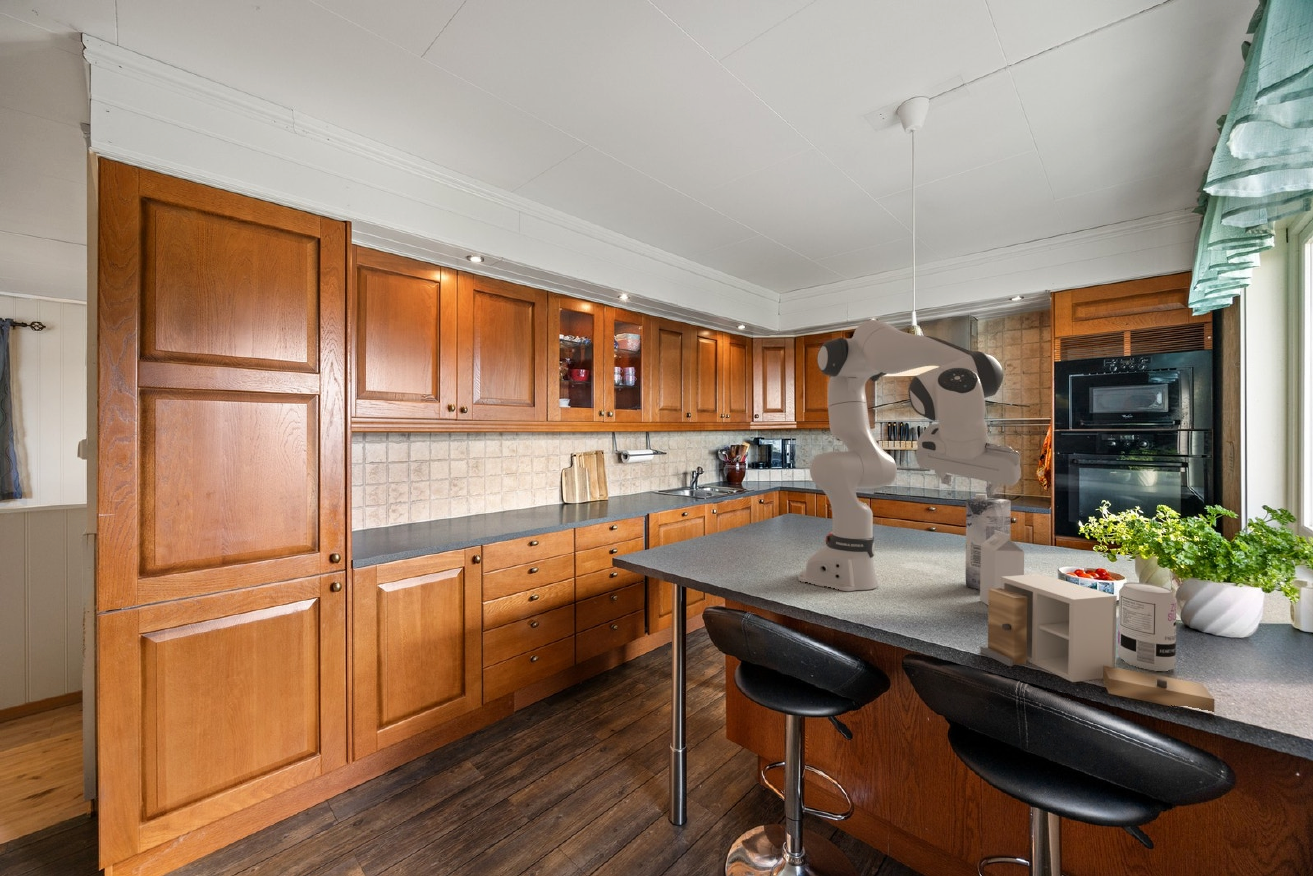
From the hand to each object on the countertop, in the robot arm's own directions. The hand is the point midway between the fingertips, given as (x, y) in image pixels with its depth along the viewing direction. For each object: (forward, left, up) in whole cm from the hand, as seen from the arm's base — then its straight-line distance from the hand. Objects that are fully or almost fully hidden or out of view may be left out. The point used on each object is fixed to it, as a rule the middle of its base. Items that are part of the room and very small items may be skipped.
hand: (968, 487), depth 121 cm
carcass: (+13, -12, -32) cm, 37 cm away
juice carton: (+4, +40, -33) cm, 52 cm away
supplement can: (+30, -2, -33) cm, 45 cm away
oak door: (+7, -13, -32) cm, 36 cm away
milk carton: (+7, +24, -33) cm, 41 cm away
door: (+28, -18, -33) cm, 47 cm away
